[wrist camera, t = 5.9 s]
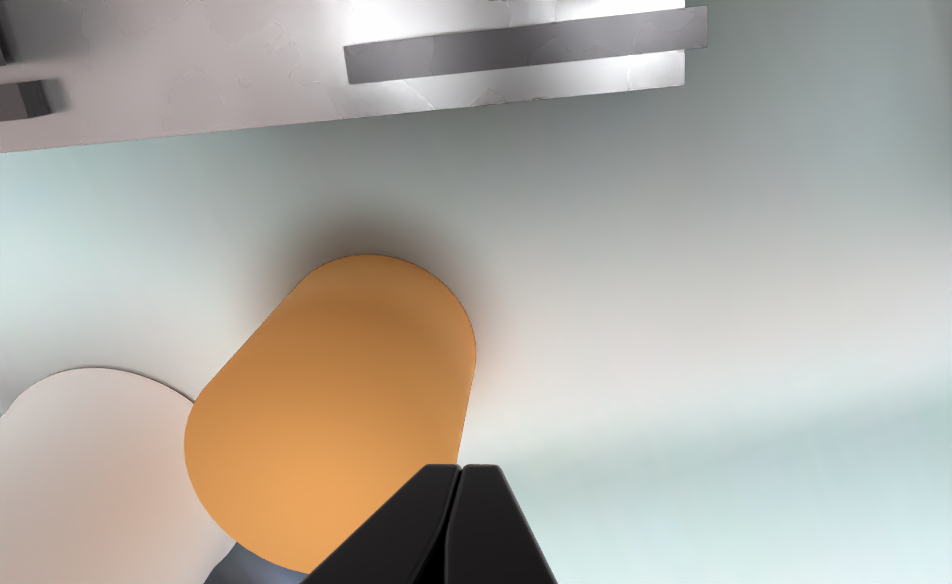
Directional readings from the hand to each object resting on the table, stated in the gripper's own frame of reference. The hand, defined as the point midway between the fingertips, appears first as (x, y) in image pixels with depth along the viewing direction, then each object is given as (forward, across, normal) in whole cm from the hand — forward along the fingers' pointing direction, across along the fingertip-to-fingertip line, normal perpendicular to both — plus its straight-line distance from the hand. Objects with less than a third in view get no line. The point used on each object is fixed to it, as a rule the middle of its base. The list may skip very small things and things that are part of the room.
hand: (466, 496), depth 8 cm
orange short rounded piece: (+12, +4, +4) cm, 13 cm away
